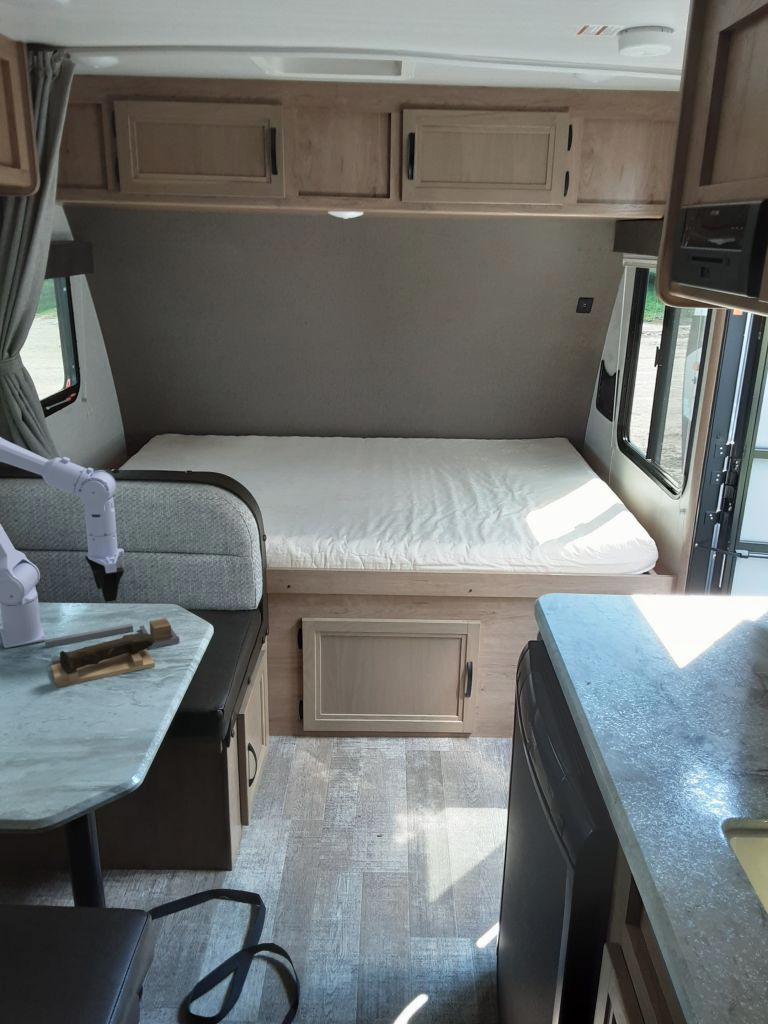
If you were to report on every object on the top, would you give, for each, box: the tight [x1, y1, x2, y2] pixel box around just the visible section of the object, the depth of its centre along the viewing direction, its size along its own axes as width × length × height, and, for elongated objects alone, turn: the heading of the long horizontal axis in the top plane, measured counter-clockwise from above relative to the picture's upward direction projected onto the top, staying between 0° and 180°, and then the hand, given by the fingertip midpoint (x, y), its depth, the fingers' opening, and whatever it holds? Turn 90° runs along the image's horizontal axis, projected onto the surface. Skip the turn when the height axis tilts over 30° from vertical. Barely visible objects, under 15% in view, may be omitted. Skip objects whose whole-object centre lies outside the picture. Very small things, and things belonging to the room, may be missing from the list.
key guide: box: [139, 625, 181, 649], centre depth 170 cm, size 10×6×1 cm, turn 30°
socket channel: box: [44, 623, 134, 665], centre depth 165 cm, size 10×18×1 cm, turn 120°
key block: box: [149, 617, 172, 640], centre depth 169 cm, size 4×3×4 cm
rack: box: [50, 649, 156, 688], centre depth 156 cm, size 8×18×2 cm, turn 120°
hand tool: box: [59, 633, 155, 674], centre depth 156 cm, size 19×4×5 cm
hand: (106, 594), depth 166 cm, fingers open, 7 cm apart
